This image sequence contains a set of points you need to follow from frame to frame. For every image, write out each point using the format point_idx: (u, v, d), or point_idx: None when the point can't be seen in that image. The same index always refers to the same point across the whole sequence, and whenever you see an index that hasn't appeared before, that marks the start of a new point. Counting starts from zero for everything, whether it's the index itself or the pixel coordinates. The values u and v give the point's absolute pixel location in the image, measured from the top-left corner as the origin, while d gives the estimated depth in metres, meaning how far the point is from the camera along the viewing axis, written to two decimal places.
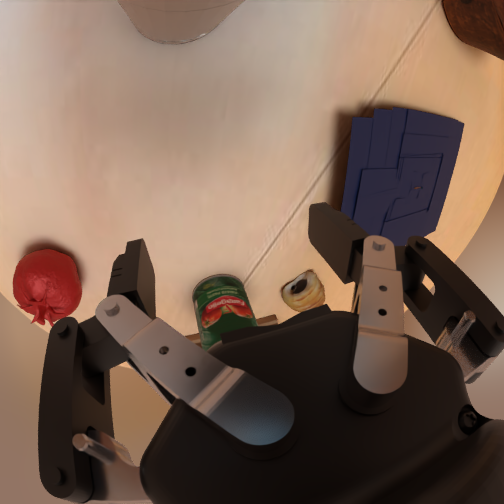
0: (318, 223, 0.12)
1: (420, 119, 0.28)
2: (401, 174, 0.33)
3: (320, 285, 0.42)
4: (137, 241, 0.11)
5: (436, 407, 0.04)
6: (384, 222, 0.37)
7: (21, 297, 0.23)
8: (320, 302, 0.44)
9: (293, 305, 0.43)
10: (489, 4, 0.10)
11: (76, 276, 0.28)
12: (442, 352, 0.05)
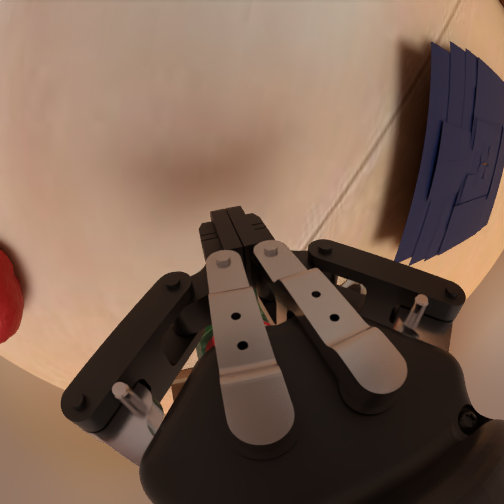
0: None
1: (487, 74, 0.15)
2: (474, 141, 0.19)
3: None
4: (221, 210, 0.12)
5: (457, 400, 0.04)
6: (454, 206, 0.24)
7: None
8: None
9: None
10: None
11: (9, 283, 0.14)
12: (426, 351, 0.06)
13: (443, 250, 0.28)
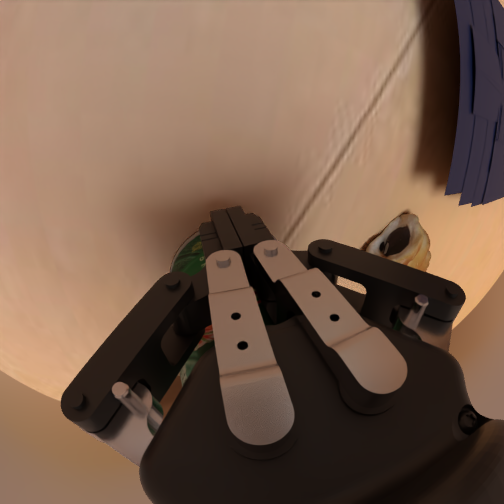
0: None
1: (500, 9, 0.07)
2: (502, 68, 0.11)
3: (428, 238, 0.19)
4: (221, 210, 0.12)
5: (457, 400, 0.04)
6: (494, 140, 0.15)
7: None
8: None
9: None
10: None
11: None
12: (426, 351, 0.06)
13: (486, 200, 0.19)
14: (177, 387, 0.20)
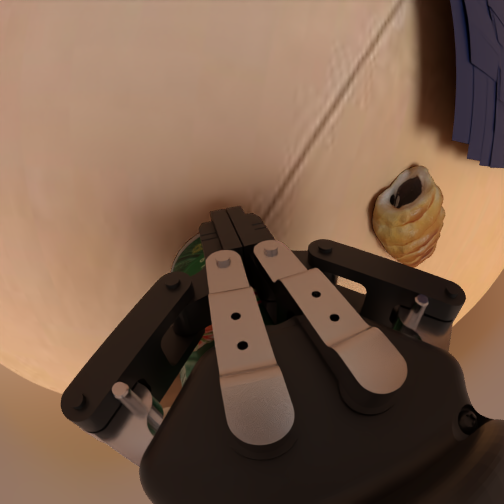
0: None
1: None
2: (497, 32, 0.09)
3: (440, 191, 0.17)
4: (221, 210, 0.12)
5: (457, 400, 0.04)
6: (496, 100, 0.13)
7: None
8: (438, 234, 0.19)
9: (400, 237, 0.18)
10: None
11: None
12: (426, 351, 0.06)
13: (493, 163, 0.17)
14: None
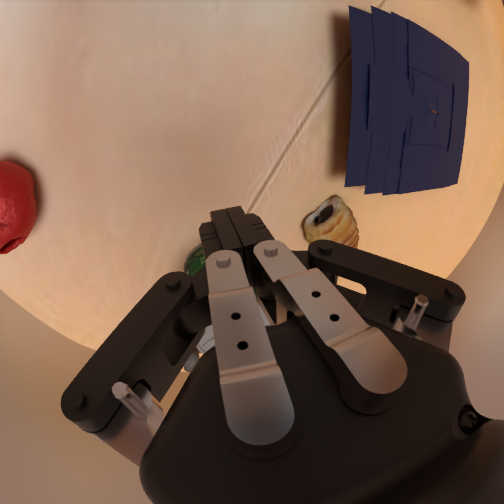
0: None
1: (422, 34, 0.20)
2: (414, 87, 0.24)
3: (350, 212, 0.32)
4: (221, 210, 0.12)
5: (457, 400, 0.04)
6: (404, 145, 0.28)
7: None
8: (354, 239, 0.34)
9: None
10: None
11: (30, 190, 0.19)
12: (426, 352, 0.06)
13: (403, 190, 0.32)
14: None
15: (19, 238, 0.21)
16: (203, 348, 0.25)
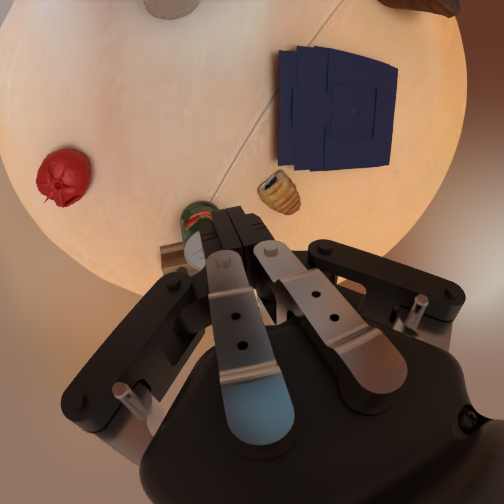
0: None
1: (343, 56, 0.38)
2: (332, 96, 0.41)
3: (289, 180, 0.49)
4: (221, 210, 0.12)
5: (457, 400, 0.04)
6: (325, 137, 0.46)
7: (43, 178, 0.32)
8: (294, 199, 0.51)
9: (269, 201, 0.50)
10: None
11: (88, 167, 0.37)
12: (426, 351, 0.06)
13: (329, 168, 0.50)
14: (175, 254, 0.51)
15: (76, 197, 0.38)
16: (189, 260, 0.43)
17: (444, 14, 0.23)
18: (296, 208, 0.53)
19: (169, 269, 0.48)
